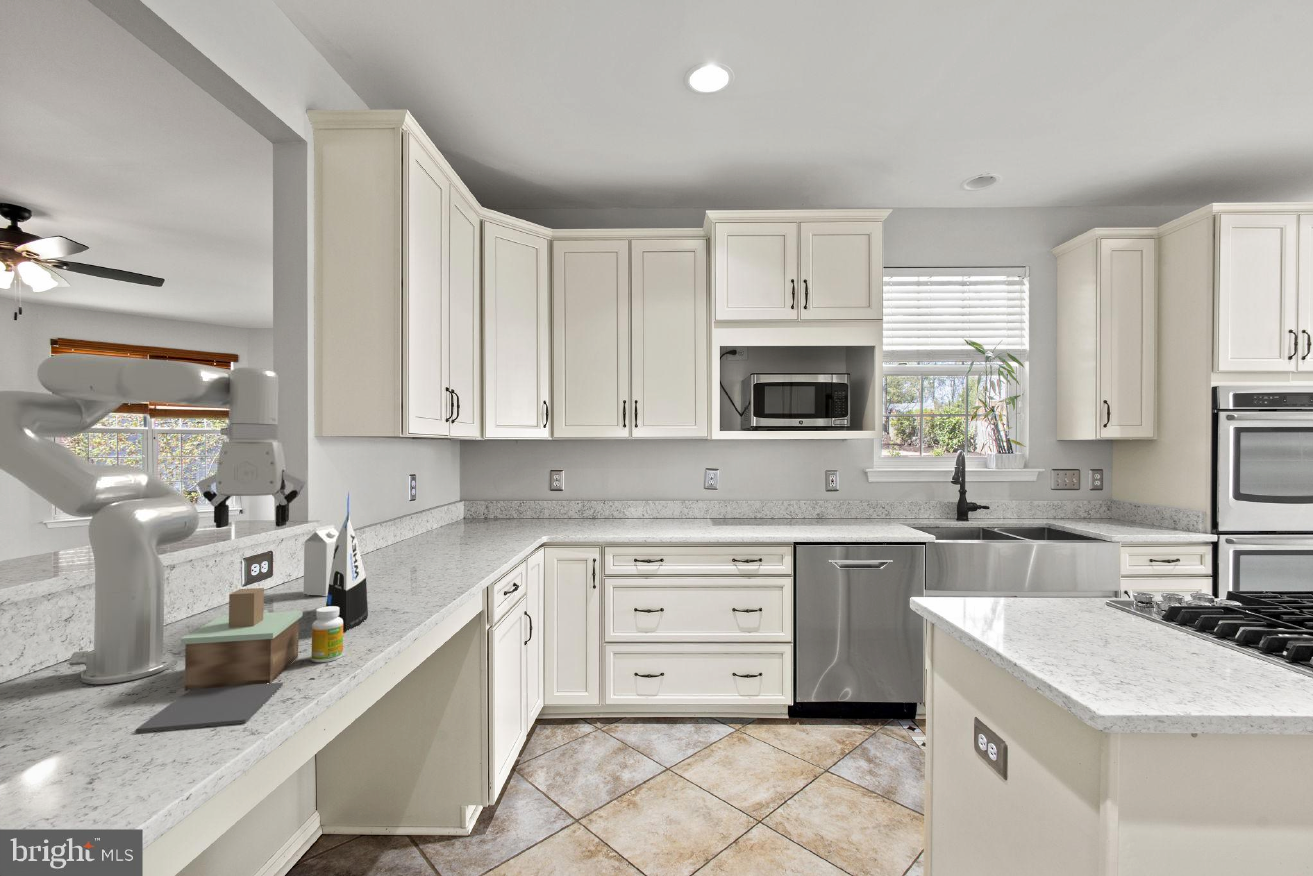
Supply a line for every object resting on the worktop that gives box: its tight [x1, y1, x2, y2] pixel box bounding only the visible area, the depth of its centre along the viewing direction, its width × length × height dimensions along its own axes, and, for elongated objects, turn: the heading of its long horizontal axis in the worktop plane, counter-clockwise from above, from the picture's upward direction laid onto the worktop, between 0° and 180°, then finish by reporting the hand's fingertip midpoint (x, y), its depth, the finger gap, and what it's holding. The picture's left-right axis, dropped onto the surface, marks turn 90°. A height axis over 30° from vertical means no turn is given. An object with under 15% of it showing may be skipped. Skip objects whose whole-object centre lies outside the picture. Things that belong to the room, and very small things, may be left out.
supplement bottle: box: [310, 606, 344, 663], centre depth 114 cm, size 5×5×10 cm
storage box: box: [184, 618, 300, 691], centre depth 107 cm, size 13×13×8 cm
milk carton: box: [303, 524, 339, 596], centre depth 164 cm, size 7×7×19 cm
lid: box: [180, 587, 303, 645], centre depth 107 cm, size 14×14×7 cm
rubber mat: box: [135, 682, 284, 734], centre depth 93 cm, size 14×14×1 cm
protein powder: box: [325, 492, 369, 633], centre depth 141 cm, size 10×24×30 cm, turn 27°
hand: (252, 526), depth 108 cm, fingers open, 9 cm apart
